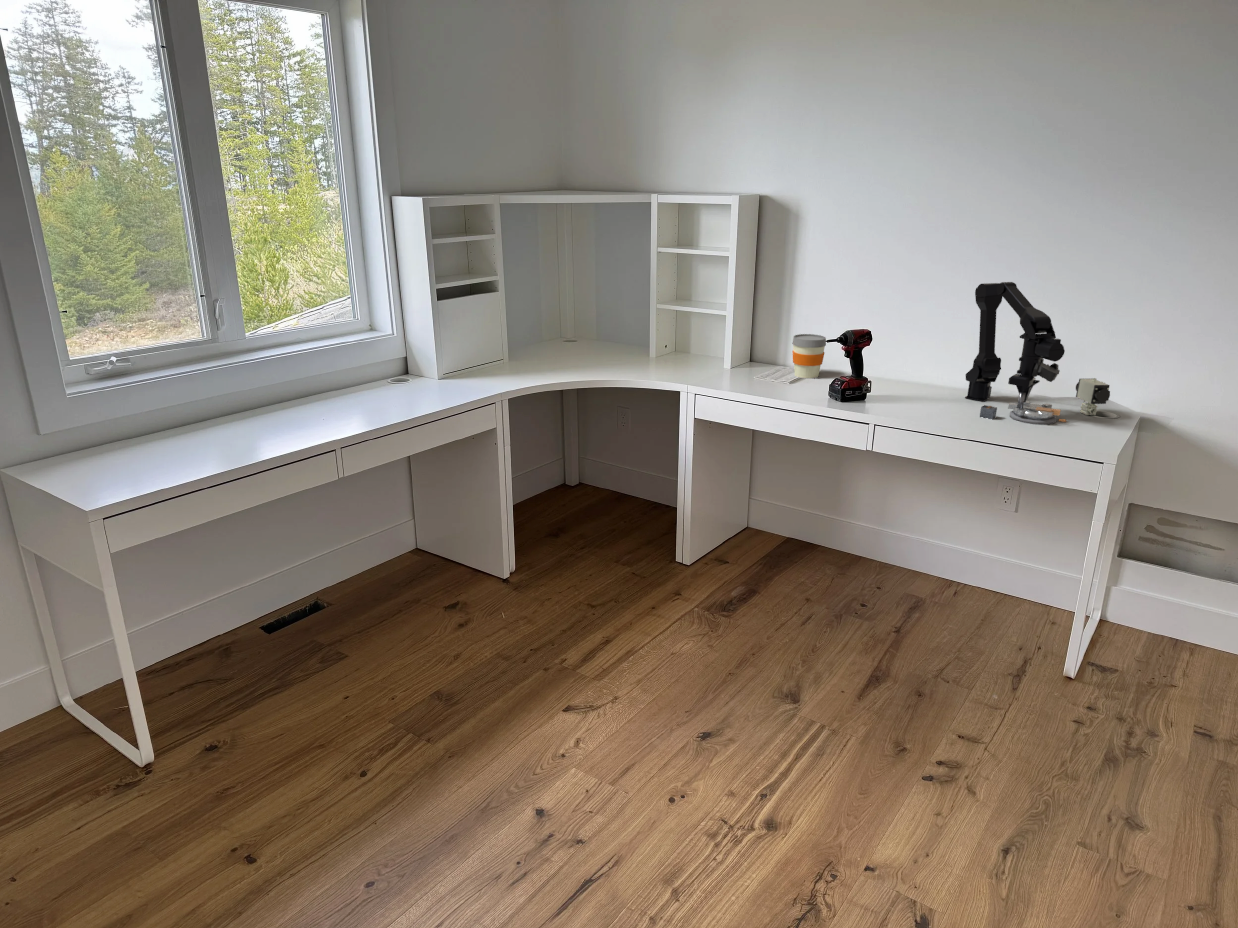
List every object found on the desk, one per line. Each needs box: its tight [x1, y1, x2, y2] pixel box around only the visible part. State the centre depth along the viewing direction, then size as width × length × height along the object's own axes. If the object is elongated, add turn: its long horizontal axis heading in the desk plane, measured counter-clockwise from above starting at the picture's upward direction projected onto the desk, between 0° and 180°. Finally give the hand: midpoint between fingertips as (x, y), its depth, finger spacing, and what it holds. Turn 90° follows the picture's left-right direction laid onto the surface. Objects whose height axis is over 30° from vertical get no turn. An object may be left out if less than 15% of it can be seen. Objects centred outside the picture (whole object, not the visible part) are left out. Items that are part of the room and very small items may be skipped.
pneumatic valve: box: [1075, 377, 1111, 416], centre depth 270 cm, size 6×12×12 cm, turn 4°
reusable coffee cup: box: [791, 333, 827, 379], centre depth 317 cm, size 13×13×15 cm
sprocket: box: [1007, 392, 1062, 420], centre depth 265 cm, size 14×15×7 cm
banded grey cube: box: [979, 404, 998, 420], centre depth 267 cm, size 4×3×4 cm
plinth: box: [1009, 410, 1067, 425], centre depth 266 cm, size 16×14×1 cm
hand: (1023, 402), depth 268 cm, fingers closed
